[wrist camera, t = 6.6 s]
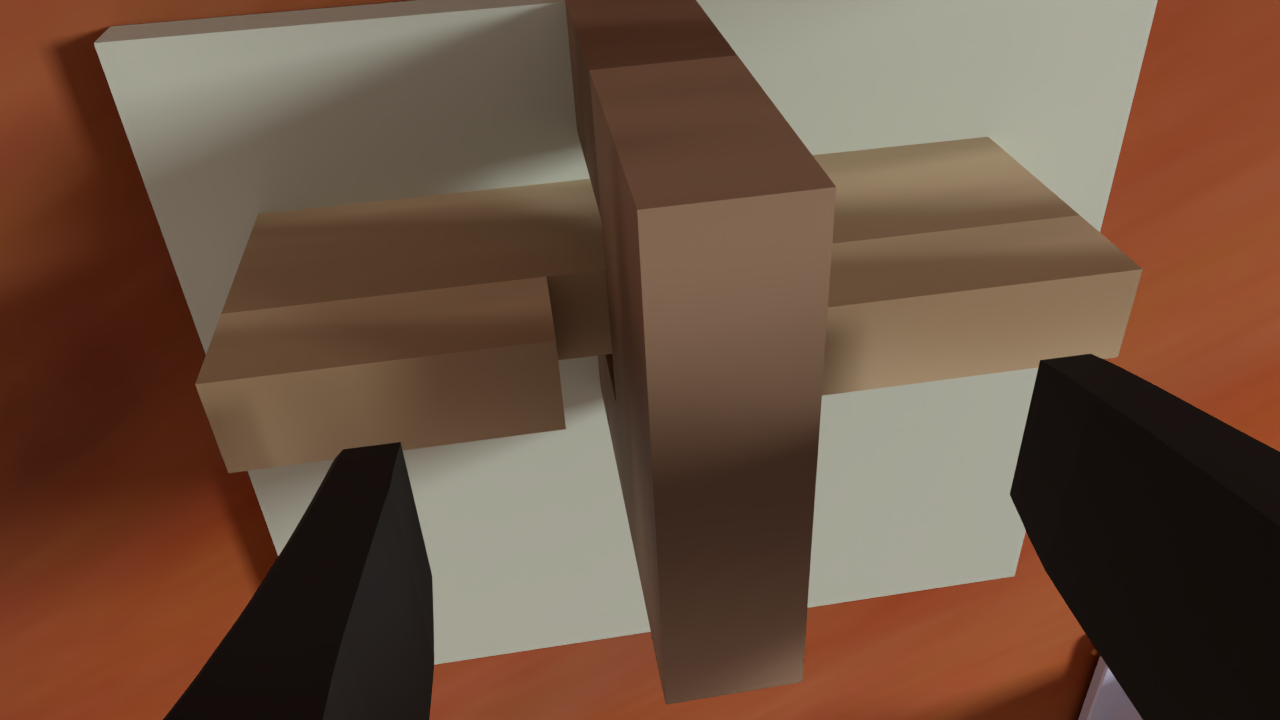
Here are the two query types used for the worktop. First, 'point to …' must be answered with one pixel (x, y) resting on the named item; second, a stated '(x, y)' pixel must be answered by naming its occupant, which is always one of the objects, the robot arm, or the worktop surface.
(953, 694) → the worktop surface
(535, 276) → the wooden u-shaped block
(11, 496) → the worktop surface
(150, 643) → the worktop surface
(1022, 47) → the board
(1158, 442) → the robot arm
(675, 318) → the wooden c-clamp shape
